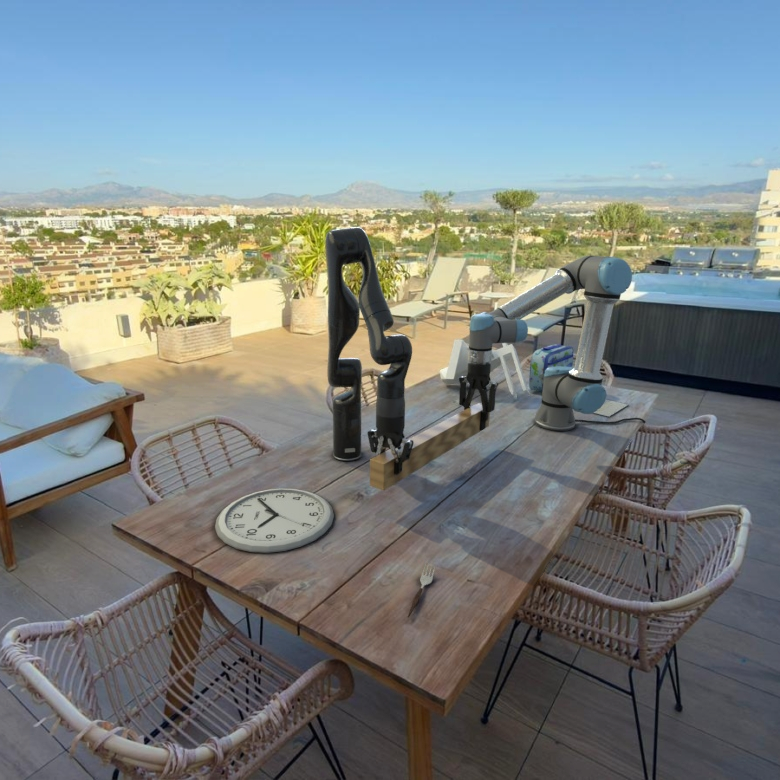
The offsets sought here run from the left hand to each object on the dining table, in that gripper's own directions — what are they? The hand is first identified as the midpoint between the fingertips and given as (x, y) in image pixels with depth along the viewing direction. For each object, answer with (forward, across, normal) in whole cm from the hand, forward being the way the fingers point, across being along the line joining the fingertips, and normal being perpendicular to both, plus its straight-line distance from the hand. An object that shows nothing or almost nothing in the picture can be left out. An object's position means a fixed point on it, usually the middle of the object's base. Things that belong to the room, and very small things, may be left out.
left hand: (389, 470), depth 141 cm
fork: (+10, +28, -26) cm, 39 cm away
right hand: (+3, 0, +49) cm, 49 cm away
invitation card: (+11, +22, +124) cm, 126 cm away
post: (+3, 0, +24) cm, 25 cm away
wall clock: (+10, -18, -24) cm, 32 cm away
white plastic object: (+11, -29, +108) cm, 112 cm away
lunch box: (+11, -5, +134) cm, 135 cm away
